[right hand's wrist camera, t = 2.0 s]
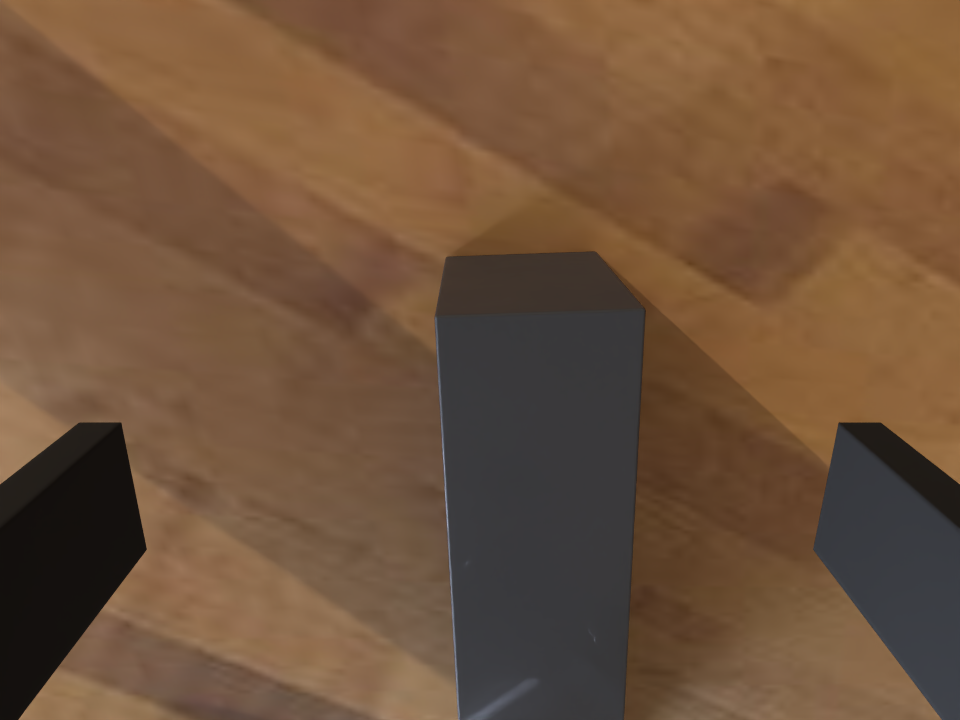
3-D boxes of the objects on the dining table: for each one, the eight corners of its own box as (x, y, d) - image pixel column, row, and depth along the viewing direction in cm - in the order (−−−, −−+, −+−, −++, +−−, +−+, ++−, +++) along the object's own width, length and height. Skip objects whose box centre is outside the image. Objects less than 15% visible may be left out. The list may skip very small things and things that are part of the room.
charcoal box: (582, 786, 40) (611, 966, 32) (472, 790, 40) (472, 970, 32) (596, 251, 29) (646, 308, 21) (445, 256, 29) (434, 315, 21)
